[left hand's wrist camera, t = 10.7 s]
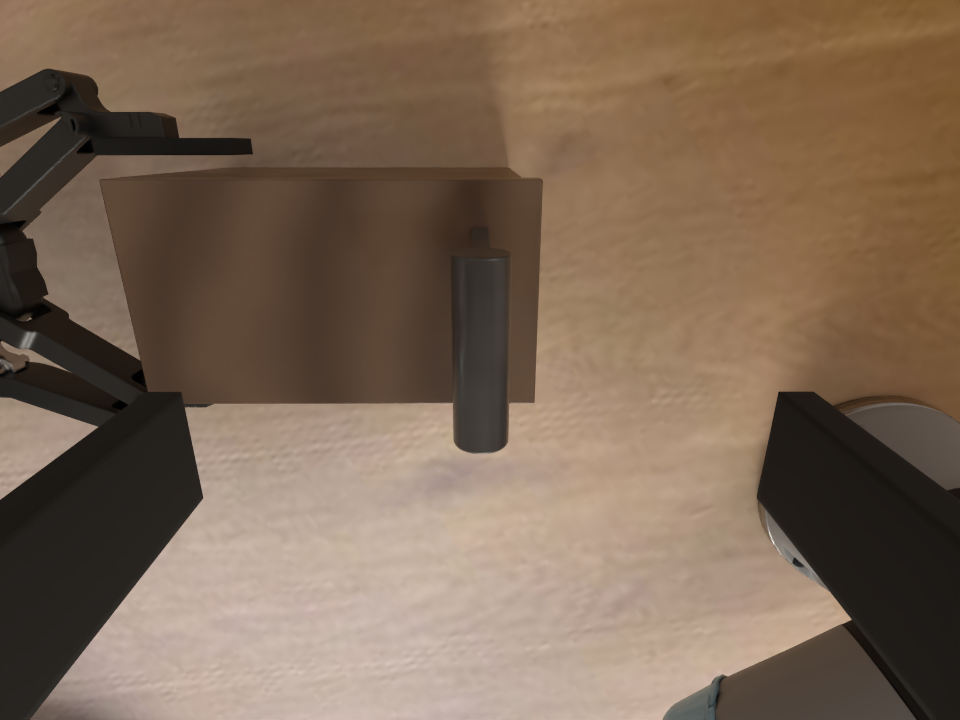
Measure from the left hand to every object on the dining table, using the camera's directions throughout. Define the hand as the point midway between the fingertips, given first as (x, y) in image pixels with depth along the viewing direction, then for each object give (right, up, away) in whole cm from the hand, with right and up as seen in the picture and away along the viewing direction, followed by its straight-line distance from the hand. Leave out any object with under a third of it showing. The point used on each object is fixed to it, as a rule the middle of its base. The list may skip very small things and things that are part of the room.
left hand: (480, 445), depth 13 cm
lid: (-6, +5, +13) cm, 15 cm away
